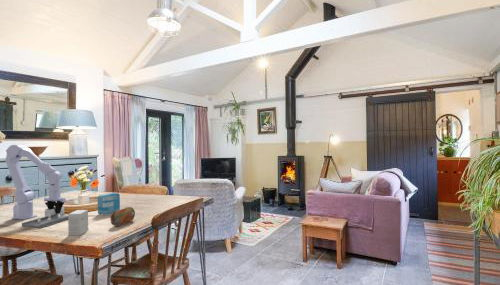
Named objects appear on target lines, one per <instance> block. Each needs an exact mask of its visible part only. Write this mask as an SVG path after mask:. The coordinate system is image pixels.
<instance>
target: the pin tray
mask: <svg viewBox="0 0 500 285" xmlns="http://www.w3.org/2000/svg"><path fill="white" fill-rule="evenodd" d="M65 221H68V215H65V214H64V215H60V214H53V215H48V216H46V217H45V216H43V217H37V218H36V219H31V220H28V221H24V222H22V223H21V227H24V228H25V227H26V228H36V229H42V228H45V227H46V228H47V227H49V226H53V225H56V224H58V223H61V222H65Z"/></svg>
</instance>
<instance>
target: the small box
mask: <svg viewBox="0 0 500 285" xmlns="http://www.w3.org/2000/svg"><path fill="white" fill-rule="evenodd" d="M67 216H68V220H67V222H68V223H67V224H68V230H67V231H68V236H69V237H71V236H81V235H83V234H84V233H86V232H87V231H89V210H88V209H77V210H75V211H71V212H70V213H68V214H67Z"/></svg>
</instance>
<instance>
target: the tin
mask: <svg viewBox="0 0 500 285" xmlns="http://www.w3.org/2000/svg"><path fill="white" fill-rule="evenodd" d="M135 213H136V211H135V209H134V208H133V207H130V206H128V207H123V208H120V210H116V211H114V212H113V213H111V214H110V224H111V225H112V226H114V227H121V226H123V225H126V224H129V223H131V222H132V221H133V220H134V218H135V216H136V214H135Z"/></svg>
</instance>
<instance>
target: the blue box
mask: <svg viewBox="0 0 500 285" xmlns="http://www.w3.org/2000/svg"><path fill="white" fill-rule="evenodd" d="M120 199H121V195H120V194H119V193H118V192H117V193H116V192H110V193H105V194H99V195H98V196H97V214H98V215H102V216H106V215H112V213H113V212H114V211H116V210H120V209H121V204H120V203H121V200H120Z"/></svg>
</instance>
